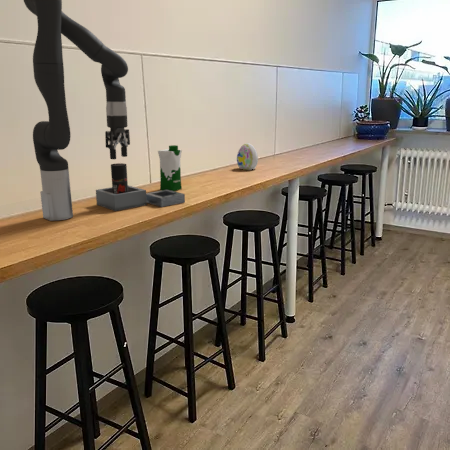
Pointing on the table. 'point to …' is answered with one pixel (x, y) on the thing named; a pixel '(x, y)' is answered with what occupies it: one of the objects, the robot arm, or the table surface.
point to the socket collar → (165, 198)
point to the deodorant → (119, 178)
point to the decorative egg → (247, 157)
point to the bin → (121, 198)
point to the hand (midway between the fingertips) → (118, 157)
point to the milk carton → (170, 168)
